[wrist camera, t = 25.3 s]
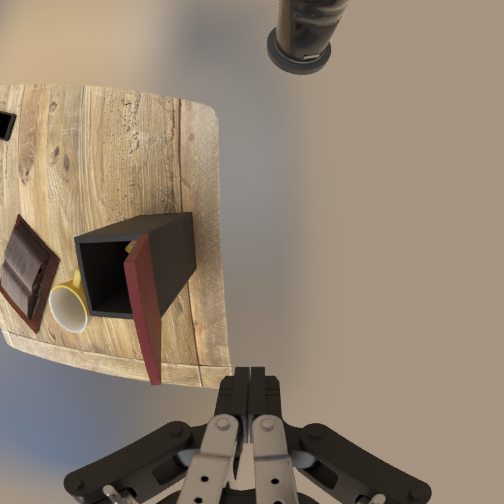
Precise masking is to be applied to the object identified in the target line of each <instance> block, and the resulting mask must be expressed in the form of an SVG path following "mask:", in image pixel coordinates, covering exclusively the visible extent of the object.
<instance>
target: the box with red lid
mask: <svg viewBox="0 0 504 504" xmlns="http://www.w3.org/2000/svg"><path fill="white" fill-rule="evenodd" d="M141 234H149V241H150V250H151V258H152V266H153V273H154V280H155V287H156V294H157V300H158V306H159V311H160V317H161V318H162V316H163V315H164V313H165V312H166V311H167V309H168V308H169V306H170V305H171V304H172V302H173V301H174V299H175V298H176V296H177V295H178V294H179V292H180V291H181V289H182V288H183V287H184V285H185V284H186V282H187V281H188V280H189V278H190V277H191V276H192V274H193V273H194V271H195V270H196V258H195V246H194V233H193V219H192V212H183V213H167V214H152V215H139V216H136V217H133V218H130V219H127V220H124V221H120V222H117V223H114V224H111V225H108V226H105V227H103V228H100V229H97V230H94V231H91V232H88V233H85V234H83V235H80V236H77V237H74V241H75V247H76V254H77V260H78V265H79V271H80V276H81V281H82V285H83V290H84V294H85V299H86V303H87V307H88V310H89V315H90V316H98V317H109V318H121V319H134V317H133V313H132V308H131V303H130V298H129V293H128V287H127V282H126V276H125V270H124V261H125V260H126V258H127V256H128V255H129V253H128V252H127V251H126V250H125V248H126V247H127V246H128V245H129V243H130V242H131V241H137V240H138V239H139V237H140V236H141Z"/></svg>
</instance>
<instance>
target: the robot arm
mask: <svg viewBox="0 0 504 504" xmlns="http://www.w3.org/2000/svg"><path fill="white" fill-rule="evenodd" d="M349 1H350V0H279V4H278V14H277V24H276V34H275V39H274V45H275V49H276V51H277V52H278V54H279V55H280V56H281V57H282V58H284V59H285V60H287V61H289V62H292V63H295V64H303V65H304V64H311V63H314V62H316V61H318V60H319V59H320V58H321V57H322V56H323V54H324V52H325V48H326V47H327V45H328V43H329V41H330V39H331V37H332V35H333V33H334V31H335V29H336V27H337V25H338V23H339V21H340V19H341V17H342V15H343V13H344V11H345V9H346V7H347V5H348V3H349ZM249 432H250V443H253V451H254V452H253V453H254V469H255V470H254V471H255V487H256V488H255V489H250V490H243V491H239V490H237V480H238V475H239V469H240V464H241V458H242V450H243V443H248V434H249ZM293 467H296V469H297V470H298V471H299V472H300V473H301V474H303V475H304V476H305V477H307V478H308V479H309V480H311V481H312V482H313V483H314V484H316V485H317V486H318V487H320V488H321V489H322V490H324V491H325V492H327V493H328V494H330V495H331V496H332V497H334V498H335V499H337V500H338V501H340V502H341V503H342V504H426V503H427V502H428V501H429V500H430V498H431V493H432V492H431V488H430V486H429V485H428V484H427V483H425V482H423V481H421V480H418V479H417V478H415V477H413V476H410V475H409V474H407V473H405V472H403V471H401V470H399V469H397V468H395V467H393V466H391V465H389V464H388V463H386V462H384V461H382V460H381V459H379V458H377V457H375V456H374V455H372V454H370V453H369V452H367V451H365V450H363V449H362V448H360V447H358V446H357V445H355V444H354V443H352V442H350V441H349V440H347V439H345V438H344V437H342V436H341V435H339V434H338V433H336V432H335V431H333V430H331V429H330V428H328V427H327V426H325V425H323V424H319V423H313V424H309V425H306V426H305V427H303V428H298V427H293V426H290V425H288V424H287V423H286V422H285V421H284V420H283V418H282V413H281V399H280V385H279V381H278V379H277V378H276V377H275V376H265V367H251V379H250V368H249V367H236V368H235V375H234V376H225V377H224V379H223V380H222V381H221V383H220V388H219V393H218V398H217V403H216V409H215V414H214V417H212V418H211V419H210V420H209V422H208V423H207V424H205V425H202V426H196V427H190V426H189V425H188V424H186V423H184V422H181V421H173V422H169V423H167V424H166V425H164V426H162V427H160V428H159V429H157V430H155V431H154V432H152V433H150V434H148V435H146V436H145V437H143V438H141V439H139V440H137V441H135V442H134V443H132V444H130V445H128V446H126V447H124V448H122V449H120V450H118V451H116V452H114V453H112V454H110V455H108V456H106V457H104V458H102V459H100V460H98V461H96V462H93V463H91V464H89V465H87V466H85V467H82V468H80V469H78V470H76V471H73V472H71V473H69V474H68V475H67V476H66V477H65V479H64V487H65V489H66V491H67V492H68V493H69V494H70V495H71V496H73V497H74V499H75V500H76V501H77V502H78V503H80V504H142V503H144V502H145V501H147V500H149V499H151V498H152V497H154V496H156V495H157V494H159V493H161V492H162V491H164V490H165V489H167V488H169V487H170V486H172V485H174V484H175V483H176V482H178V481H180V480H181V479H183V478H184V477H185V481H184V483H183V486H182V489H181V490H179V491H176V492H174V493H172V494H170V495H169V496H167V497H166V498H164V499H163V500H161V501H159V502H158V503H156V504H319V503H318V502H317V501H315V500H314V499H312V498H311V497H309V496H307V495H305V494H302V493H299V492H297V489H296V483H295V477H294V472H293Z"/></svg>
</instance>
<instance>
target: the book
mask: <svg viewBox="0 0 504 504" xmlns="http://www.w3.org/2000/svg"><path fill="white" fill-rule="evenodd" d="M4 258H5V262H4V263H3V265H2V268H1V280H0V292H1V293H2V294H3V296H4V297H5V299H6V300H7V301H8V302H9V304H10V305H11V306H12V307H13V308H14V310H15V311H16V312H17V313H18V314H19V316H20V317H21V318H22V319H23V320H24V321H25V322H26V324H27V325H28V326H29V327H30V328H31V329H32V330H33V331H34V333H36V334H37V331H38V327H39V322H40V319H41V316H42V312H43V309H44V306H45V301H46V299H47V296H48V293H49V290H50V286H51V283H52V280H53V278H54V275H55V271H56V269H57V266H58V264H59V261H60V260H59V259H58V258H57V257H56V256H55V255H53V253H52V252H51V251H50V250H49V249H47V247H46V246H45V244H44V243H42V241H41V240H40V239H39V237H38V236H37V235H36V234H35V233H34V232H33V230H32V229H31V228H30V227H29V226H28V225H27V223H26V222H25V221H24V220H23V219H22V218H21V216H20V215H19V214H18V216H17V220H16V224H15V226H14V229H13V231H12V234H11V237H10V240H9V242H8V245H7V247H6V250H5V255H4ZM40 268H42V272H41V273H40V274H39V273H38V271H39V269H40Z"/></svg>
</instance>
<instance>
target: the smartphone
mask: <svg viewBox="0 0 504 504" xmlns="http://www.w3.org/2000/svg"><path fill="white" fill-rule="evenodd" d="M15 118H16V115H15V114H11V113H7V112H2V111H0V139H1V140H5V141H8V140H9V137H10V134H11V130H12V127H13V124H14V121H15Z"/></svg>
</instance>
